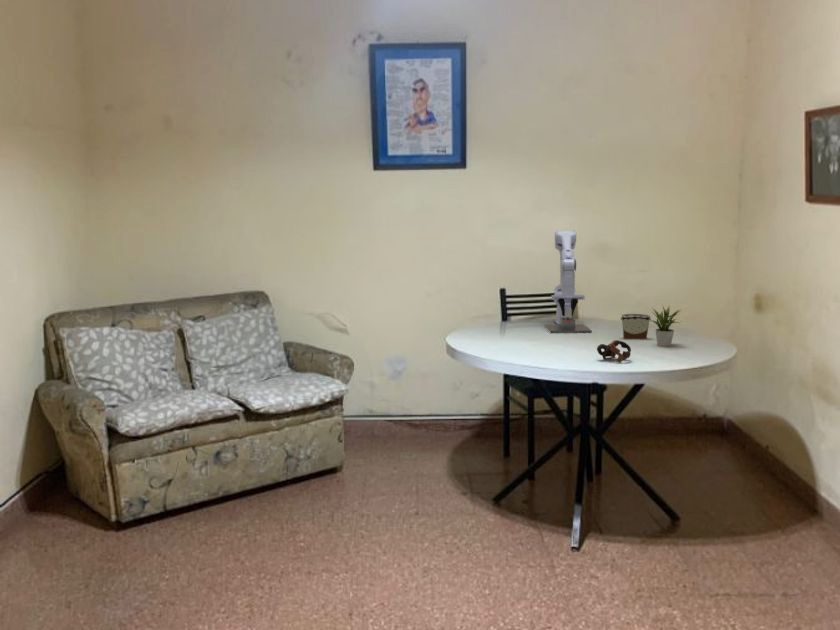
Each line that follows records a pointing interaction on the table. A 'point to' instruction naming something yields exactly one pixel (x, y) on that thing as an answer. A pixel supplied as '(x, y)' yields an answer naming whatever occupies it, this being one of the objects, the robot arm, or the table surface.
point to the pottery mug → (614, 350)
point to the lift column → (568, 313)
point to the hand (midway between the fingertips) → (567, 315)
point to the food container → (635, 326)
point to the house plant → (664, 327)
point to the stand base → (567, 327)
